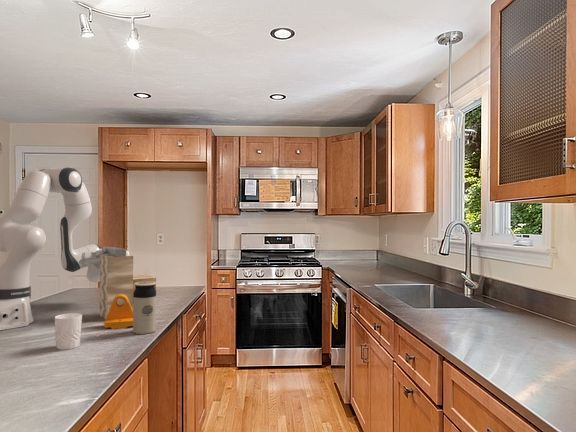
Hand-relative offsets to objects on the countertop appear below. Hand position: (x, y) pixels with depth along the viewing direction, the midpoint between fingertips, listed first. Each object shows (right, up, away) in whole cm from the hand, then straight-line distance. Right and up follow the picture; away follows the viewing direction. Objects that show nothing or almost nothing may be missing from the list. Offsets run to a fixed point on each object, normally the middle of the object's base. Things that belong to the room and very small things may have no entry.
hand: (109, 249), depth 184 cm
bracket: (+15, -28, -24) cm, 40 cm away
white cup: (+9, -28, -51) cm, 58 cm away
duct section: (+4, -2, -5) cm, 7 cm away
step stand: (+10, -28, -5) cm, 30 cm away
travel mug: (+27, -28, -32) cm, 50 cm away
